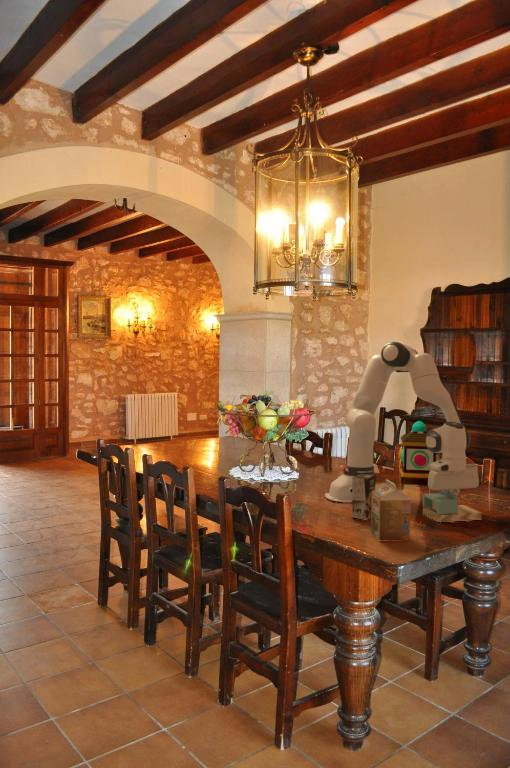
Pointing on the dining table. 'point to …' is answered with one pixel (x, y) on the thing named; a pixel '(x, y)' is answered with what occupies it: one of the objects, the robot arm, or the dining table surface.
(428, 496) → the cover
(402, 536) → the milk carton
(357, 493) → the coffee box
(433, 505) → the jaw block
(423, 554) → the dining table surface
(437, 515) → the housing base
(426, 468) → the decorative lantern
